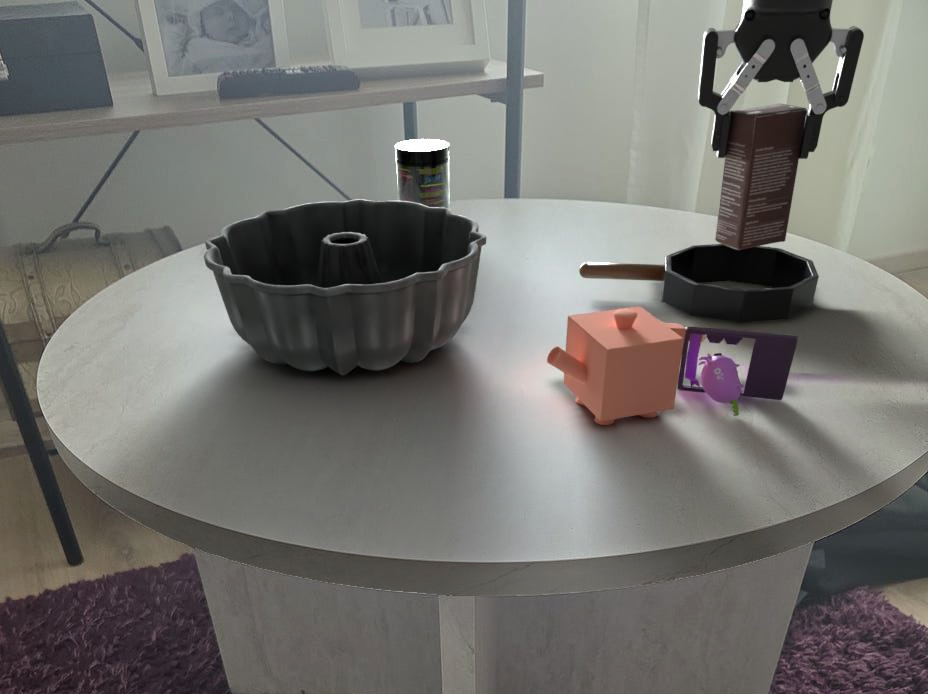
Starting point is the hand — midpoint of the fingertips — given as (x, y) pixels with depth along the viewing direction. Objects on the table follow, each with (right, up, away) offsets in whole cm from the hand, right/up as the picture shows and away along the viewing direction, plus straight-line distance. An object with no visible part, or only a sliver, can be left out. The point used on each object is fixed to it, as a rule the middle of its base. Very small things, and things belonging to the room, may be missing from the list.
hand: (761, 156), depth 89 cm
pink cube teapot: (-16, -27, -9) cm, 33 cm away
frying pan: (-4, -11, +10) cm, 15 cm away
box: (0, -6, +5) cm, 8 cm away
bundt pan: (-40, -17, +3) cm, 44 cm away
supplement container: (-33, +6, +31) cm, 46 cm away
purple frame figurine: (-6, -27, -9) cm, 29 cm away
